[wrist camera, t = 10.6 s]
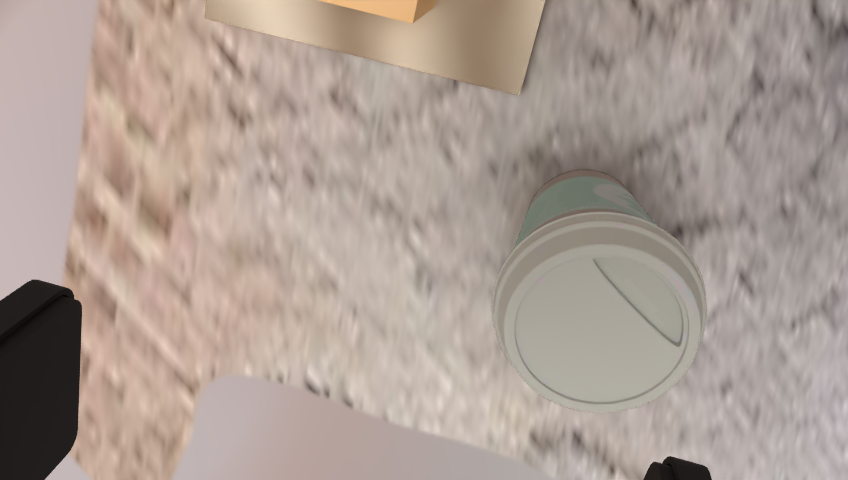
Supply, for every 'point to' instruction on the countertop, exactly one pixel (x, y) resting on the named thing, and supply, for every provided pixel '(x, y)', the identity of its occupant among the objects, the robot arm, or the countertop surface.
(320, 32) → the post board
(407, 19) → the tan matte cube
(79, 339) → the robot arm
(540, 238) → the coffee cup
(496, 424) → the countertop surface
